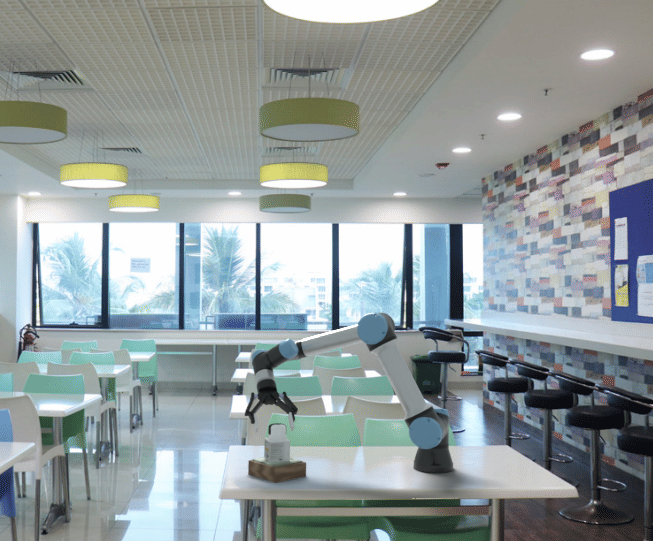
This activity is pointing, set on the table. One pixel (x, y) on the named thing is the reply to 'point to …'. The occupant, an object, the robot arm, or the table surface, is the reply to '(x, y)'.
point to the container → (277, 444)
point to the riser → (277, 469)
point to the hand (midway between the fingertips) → (274, 429)
